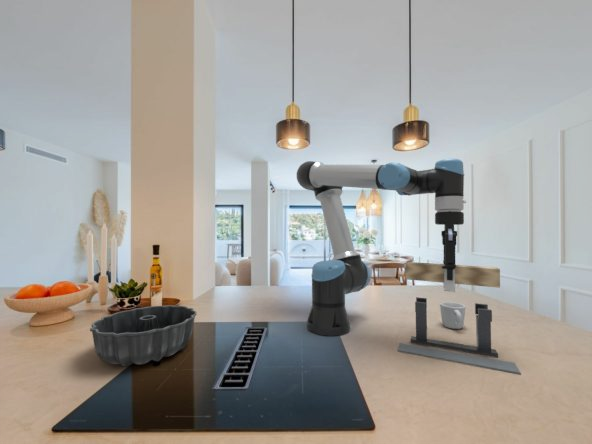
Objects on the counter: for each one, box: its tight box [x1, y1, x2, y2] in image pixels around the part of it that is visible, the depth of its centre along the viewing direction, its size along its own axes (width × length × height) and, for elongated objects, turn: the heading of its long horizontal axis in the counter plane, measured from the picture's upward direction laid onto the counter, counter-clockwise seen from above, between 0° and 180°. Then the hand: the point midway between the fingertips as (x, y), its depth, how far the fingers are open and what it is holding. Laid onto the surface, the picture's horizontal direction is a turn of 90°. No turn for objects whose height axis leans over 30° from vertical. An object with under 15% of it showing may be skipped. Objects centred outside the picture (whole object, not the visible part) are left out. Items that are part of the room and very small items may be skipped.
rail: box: [404, 261, 501, 289], centre depth 81 cm, size 24×4×5 cm, turn 64°
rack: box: [410, 296, 499, 358], centre depth 80 cm, size 22×7×13 cm, turn 64°
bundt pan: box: [89, 304, 198, 367], centre depth 78 cm, size 26×26×10 cm
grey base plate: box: [397, 342, 522, 375], centre depth 74 cm, size 28×6×1 cm, turn 64°
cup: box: [439, 301, 466, 330], centre depth 97 cm, size 11×8×8 cm
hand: (449, 289), depth 81 cm, fingers closed on rail, 4 cm apart
